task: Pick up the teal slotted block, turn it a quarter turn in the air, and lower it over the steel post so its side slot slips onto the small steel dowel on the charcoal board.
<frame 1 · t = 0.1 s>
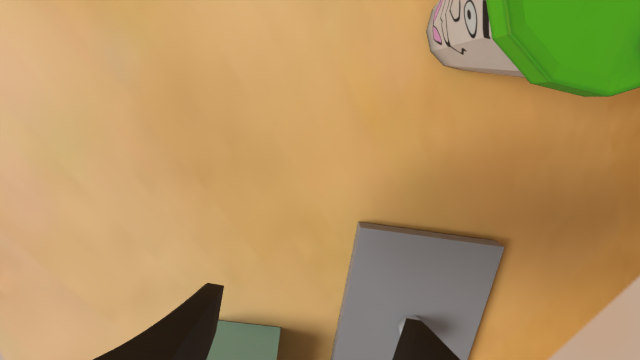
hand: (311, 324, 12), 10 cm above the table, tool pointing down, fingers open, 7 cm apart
teal slotted block: (239, 354, 24), on the table
post board: (406, 316, 24), on the table
cup: (462, 30, 19), on the table
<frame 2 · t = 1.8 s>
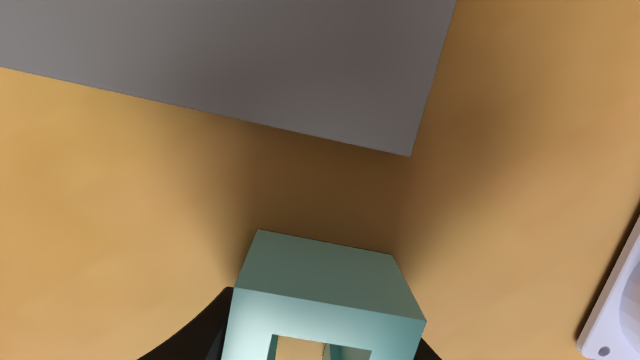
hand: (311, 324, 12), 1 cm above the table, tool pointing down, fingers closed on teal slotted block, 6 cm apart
teal slotted block: (311, 301, 13), on the table, touching gripper
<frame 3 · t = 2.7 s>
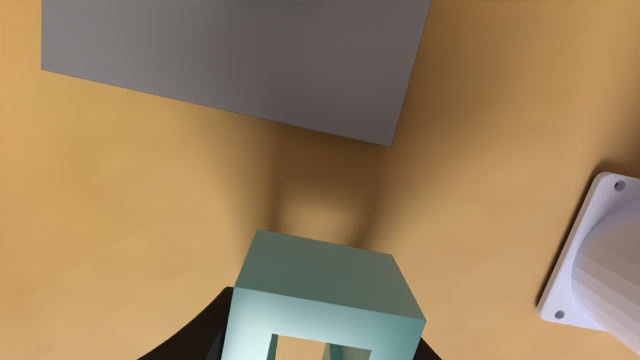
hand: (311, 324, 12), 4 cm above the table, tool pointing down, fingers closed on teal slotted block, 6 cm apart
teal slotted block: (311, 301, 13), point 2 cm above the table, touching gripper
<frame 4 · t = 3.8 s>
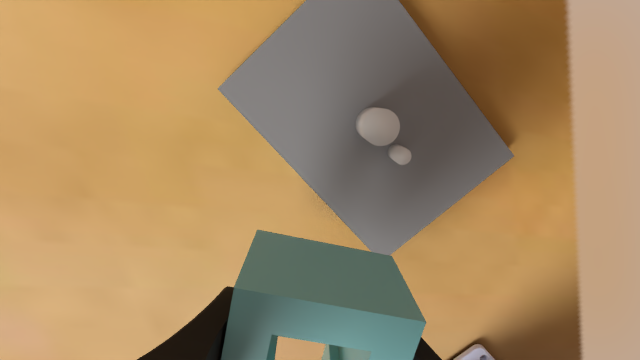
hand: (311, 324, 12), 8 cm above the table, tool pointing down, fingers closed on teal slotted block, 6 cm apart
teal slotted block: (311, 302, 13), point 7 cm above the table, touching gripper
post board: (368, 122, 19), on the table
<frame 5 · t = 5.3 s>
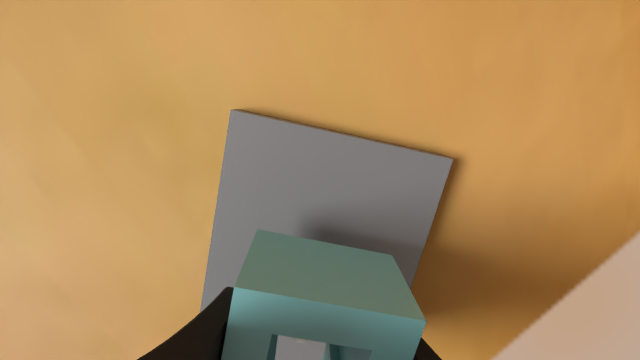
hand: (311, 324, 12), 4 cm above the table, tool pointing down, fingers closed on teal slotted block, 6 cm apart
teal slotted block: (311, 301, 13), point 3 cm above the table, touching gripper
post board: (311, 265, 16), on the table
when the fingers open (3 cm above the table, at t = 6.2 s): teal slotted block stays where it is, resting on post board.
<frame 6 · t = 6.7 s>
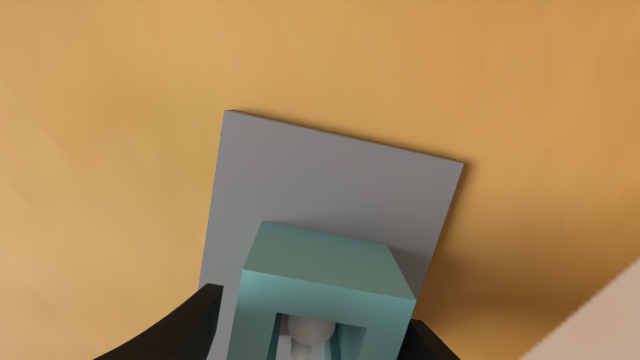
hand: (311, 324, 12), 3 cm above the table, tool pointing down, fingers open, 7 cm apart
teal slotted block: (312, 288, 14), point 1 cm above the table, touching post board
post board: (311, 275, 15), on the table
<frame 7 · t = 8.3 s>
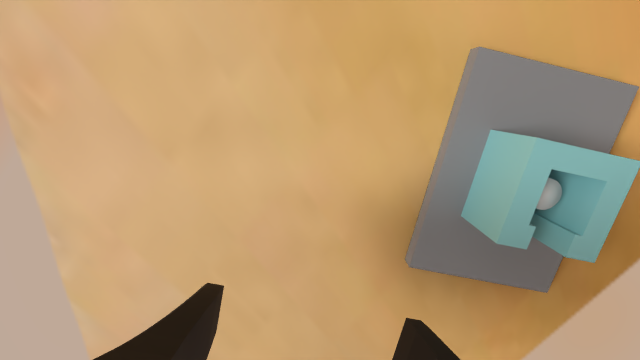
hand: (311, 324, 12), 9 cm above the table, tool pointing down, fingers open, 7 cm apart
teal slotted block: (517, 183, 20), point 1 cm above the table, touching post board
post board: (507, 178, 21), on the table
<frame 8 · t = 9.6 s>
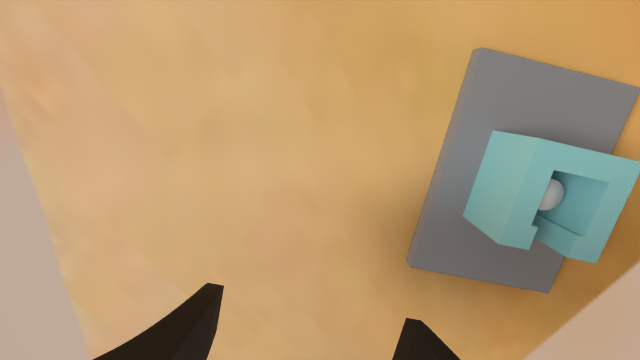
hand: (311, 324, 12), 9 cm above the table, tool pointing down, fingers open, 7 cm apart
teal slotted block: (518, 183, 20), point 1 cm above the table, touching post board
post board: (508, 179, 21), on the table
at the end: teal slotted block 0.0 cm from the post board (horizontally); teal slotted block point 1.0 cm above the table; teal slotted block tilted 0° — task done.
